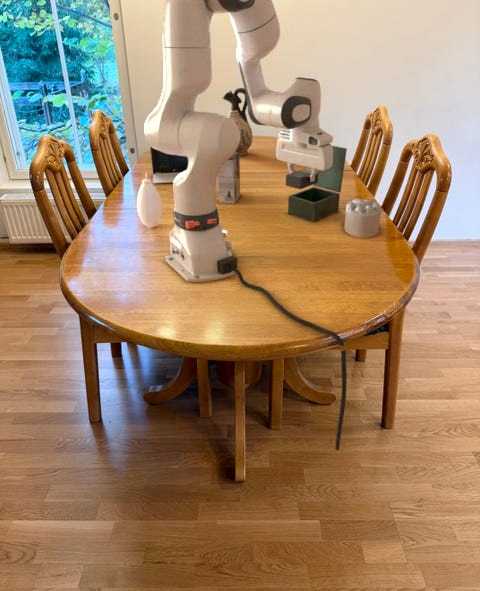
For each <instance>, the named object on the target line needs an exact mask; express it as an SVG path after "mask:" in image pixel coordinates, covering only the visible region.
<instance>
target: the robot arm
mask: <svg viewBox="0 0 480 591" xmlns="http://www.w3.org/2000/svg"><path fill="white" fill-rule="evenodd" d="M162 13H163V14H162V52H163V89H162V93H161V96H160V99H159V101H158V103H157V106H156V107H155V108H154V109H153V111H151V113H149V115H148V116H147V118H146V120H145V123H144V128H143V130H144V137H145V140H146V142H147V144H148V146H149V147H150V146H151V147H152V148H154V149H156V150H158V151H161V152H163V153H166V154H171V155H178V156H185V157H188V168H187V170H185V171H183V172H182V173H180V174H179V175H178V176H177V177H176V178H175V180H174V182H173V183H172V192H173V203H174V208H173V214H172V215H173V217H172V218H173V223H174V226H173V227H172V229H171V230H170V231H169V248H170V249H169V250H170V254H168V255H166V256H165V259H164V260H165V263H167V265H168V266H170V267H171V268H172V269H173V270H174V271H175V272H176V273H177V274H178V275H179V276H181V278H183V279H184V280H185V281H186V282H189V283H202V282H203V283H204V282H212V281H218V280H222V279H226V278H229V277H232V276H234V275H237V277H238V280H239V282H240V283H241V284H242V285H243V286H245V287H247V288H249V289H253V290H256V291H259V292H261V293H263V295H265V296H266V297H267V298H268V299H269V302H271V303H272V304H273V306H275V307H276V308H277V309H278V310H279V311H280V312H282V313H283V314H284V315H285V316H287V317H288V318H290V319H291V320H293V321H295V322H297V323H299V324H301V325H304V326H306V327H309V328H310V329H313V330H315V331H318V332H320V333H322V334H325V335H328V336H331V337H332V338H333V339H334V340H335V341H336V342H337V343H338V345H339V346H340V347H344V346H345V343H344V340H342V338H341V337H340V335H339V334H337V333H336V332H335V331H333V330H330V329H326V328H324V327H322V326H319V325H317V324H315V323H312V322H310V321H307V320H305V319H303V318H301V317H298V316H296V315H294V314H293V313H291V312H290V311H289V310H287V309H286V308H285V307H283V306H282V305H281V304H280V303H279V302H278V301H276V299H275V298H274V297H273V295H272V294H271V293H270V292H269V291H268V290H267V289H265V288H263V287H262V286H259V285H255V284H251V283H249V282H247V281H246V280H245V279H244V277H243V274H242V273H241V271H240V270H239V269H238V257H236V256H235V255H233V253H232V249H233V248H232V245H233V244H232V241H230V240H228V241H227V240H226V239H225V238H227V234H228V231H227V230H223V225H222V223H220V213H219V208H218V206H217V181H218V172H219V170H220V168H221V166H222V165H223V163H224V162H225V161H226V160H227V159H229V158H230V157H231V156H232V155H233V154H234V153H235V152H236V150H237V148H238V145H239V139H240V135H239V130H238V127H237V125H236V123H235V121H234V120H233V119H231V118H228V117H227V116H225V115H223V114H220V113H217V112H207V111H196V110H195V104H196V100H197V98H198V96H199V95H201V94H203V93H204V92H205V91H206V90H207V89H208V88H209V87H210V86H211V83H212V80H213V69H212V68H213V67H212V66H213V64H212V35H211V21H212V18H213V16H214V15H218V14H226V13H228V15H229V17H230V18H229V19H230V21H231V24H232V27H233V31H234V33H235V36H236V40H237V45H236V49H235V50H236V52H235V53H236V60H237V61H236V62H237V65H238V68H239V73H240V76H241V80H242V84H243V88H244V89H245V92H246V97H247V107H246V109H247V113H248V116H249V117H248V118H249V119H250V121H251V122H252V123H253V124H255V125H257V126H266V127H267V126H268V127H273V128H278V129H284V130H281V131H279V133H278V135H277V143H276V151H275V158H276V159H277V161H281V162H285V163H286V167H287V168H288V170H289V174H291V173H294V172H297V171H298V170H296V169H295V165H298V166H301V167H306V168H309V169H310V171H312V173H311V175H309V176H308V181H310V182H313V181H314V180H315V175H316V174H317V172H318V170H321V171H326V170H328V169H330V168H331V167H332V164H333V148H332V146H333V145H332V144H331V143H332V142H333V140H334V137H333V135H331V134H330V133H328V132H327V131H325V130H323V129H322V128H320V118H319V117H320V113H321V108H322V107H321V106H322V90H321V83H320V82H319V81H318V80H317V79H316V78H310V77H309V78H308V77H302V76H301V77H300V76H298V77H294V80H293V83H292V85H290V87H288V89H286V90H284V91H283V92H282V91H281V92H280V91H274V90H271V88H269V87H268V86H267V85H266V84H265V79H264V74H263V69H262V66H261V60H262V59H264V58H266V57H267V56H268V55H269V54H271V53H272V52H273V50H275V49H276V47H277V45H278V43H279V41H280V38H281V26H280V22H279V18H278V15H277V12H276V8H275V6H274V2H273V0H164V5H163V12H162ZM288 130H289V131H288ZM331 145H332V146H331ZM340 355H341V356H340V357H341V364H340V365H341V397H340V398H341V399H340V406H339V407H340V408H339V415H338V423H337V430H336V437H335V446H334V447H335V448H334V449H335V450H336V451H340V446H341V438H342V430H343V429H342V428H343V422H344V417H345V408H346V401H347V350H345V349H344V350H341V351H340Z"/></svg>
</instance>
